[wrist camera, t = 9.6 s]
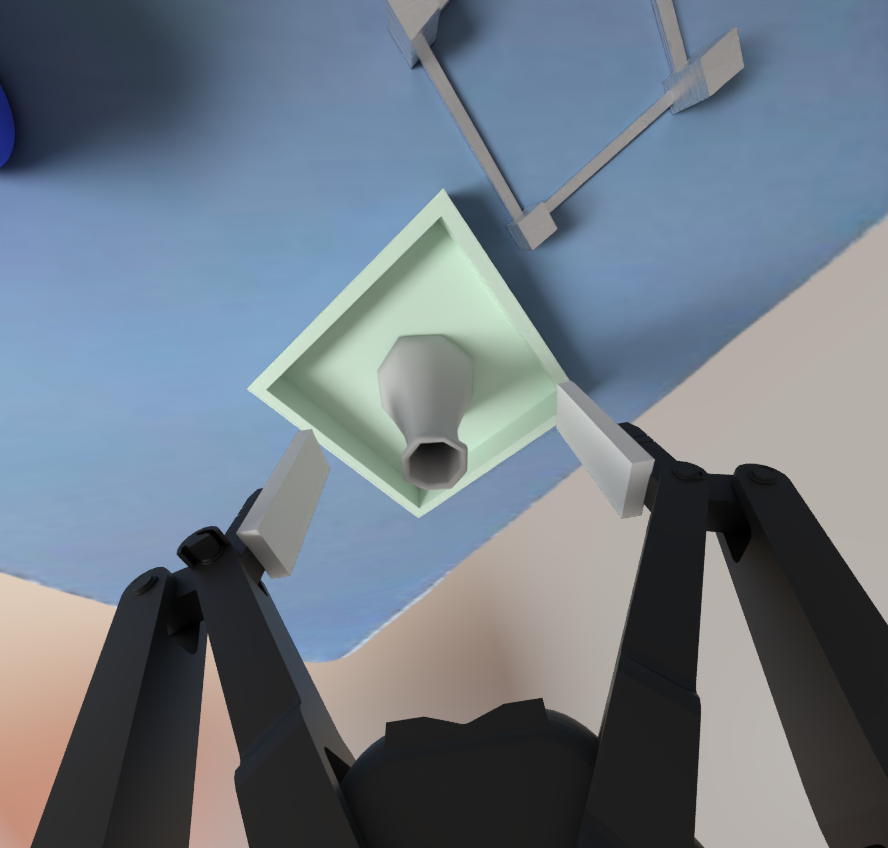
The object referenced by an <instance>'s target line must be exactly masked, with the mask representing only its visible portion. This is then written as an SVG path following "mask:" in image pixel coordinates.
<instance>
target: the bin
mask: <svg viewBox="0 0 888 848" xmlns="http://www.w3.org/2000/svg"><path fill="white" fill-rule="evenodd" d="M434 335H442V336H443V337H444V338H446V339H447V340H449V341H450V342H452V343H453V344H454V345H456V346H457V347H459V348H460V349H462V350H463V351H464V352H466V353H467V354H469V355H470V356H472V357H473V358H474V371H473V396H472V398H471V400H470V402H469V404H468V406H467V408H466V410H465V413H464V415H463V418H462V420H461V423H460V425H459V428H458V438H459V441H461V442H463V443H464V444H466V445H467V447H468V464H467V472H466V473H465V474H464V475H463V477H462V478H461V479H460V480H459V481H458V482H457V483H456V484H455V485H454V487H453V488H452V489H439V490H424V489H422V488H419V487H417V486H415V485H413V484H411V483H409V482H407V481H405V480H404V478H403V469H402V460H401V455H402V453H403V451H404V450H405V449H406V447H407V443H406V440H405V437H404V435H403V434H402V432H401V431H400V430H399V428H398V427H397V425H396V424H395V423H394V421H393V420H392V419H391V418H390V417H389V415H388V414H387V413H386V412H385V411H384V409H383V408H382V404H381V397H380V389H379V382H378V375H377V370H378V368H379V367H380V365H381V364H382V362H383V361H384V359H385V357H386V356H387V354H388V353H389V351H390V350H391V348H392V346H393V345H394V343H395V342H396V340H397V339H398V337H411V336H434ZM564 382H570V380H569V379H568V377H567V376H566V374H565V372H564V371H563V369H562V368H561V366H560V365H559V363H558V362H557V360H556V359H555V357H554V356H553V354H552V353H551V351H550V350H549V348H548V347H547V345H546V344H545V342H544V341H543V339H542V338H541V336H540V335H539V333H538V332H537V330H536V328H535V327H534V325H533V324H532V322H531V321H530V319H529V318H528V316H527V315H526V313H525V312H524V310H523V309H522V307H521V306H520V304H519V303H518V301H517V300H516V298H515V297H514V295H513V294H512V292H511V291H510V289H509V288H508V286H507V284H506V283H505V281H504V280H503V278H502V277H501V275H500V274H499V272H498V271H497V269H496V268H495V266H494V265H493V263H492V262H491V260H490V259H489V257H488V256H487V254H486V253H485V251H484V250H483V248H482V247H481V245H480V243H479V242H478V240H477V239H476V237H475V236H474V234H473V233H472V231H471V230H470V228H469V227H468V225H467V224H466V222H465V221H464V219H463V218H462V216H461V215H460V213H459V212H458V210H457V209H456V207H455V206H454V204H453V203H452V201H451V199H450V198H449V196H448V195H447V193H446V192H445V190H444V189H442V190H441V191H440V192H439V193H438V194H437V195H436V196H435V197H434V198H433V199H432V200H431V201H430V202H429V204H428V205H427V206H426V207H425V208H424V209H423V210H422V211H421V212H420V213H419V214H418V215H417V216H416V217H415V218H414V219H413V220H412V221H411V222H410V223H409V224H408V225H407V226H406V227H405V228H404V229H403V230H402V231H401V232H400V233H399V234H398V235H397V236H396V237H395V238H394V239H393V240H392V241H391V242H390V243H389V244H388V245H387V246H386V247H385V248H384V249H383V250H382V251H381V253H380V254H379V255H378V256H377V257H376V258H375V259H374V260H373V261H372V262H371V263H370V264H369V265H368V266H367V267H366V268H365V269H364V270H363V271H362V272H361V273H360V274H359V275H358V276H357V277H356V278H355V279H354V280H353V281H352V282H351V283H350V284H349V285H348V286H347V287H346V288H345V289H344V290H343V291H342V292H341V293H340V294H339V295H338V296H337V297H336V298H335V299H334V300H333V301H332V303H331V304H330V305H329V306H328V307H327V308H326V309H325V310H324V311H323V312H322V313H321V314H320V315H319V316H318V317H317V318H316V319H315V320H314V321H313V322H312V323H311V324H310V325H309V326H308V327H307V328H306V329H305V330H304V331H303V332H302V333H301V334H300V335H299V336H298V337H297V338H296V339H295V340H294V341H293V342H292V343H291V344H290V345H289V346H288V347H287V348H286V349H285V350H284V352H283V353H282V354H281V355H280V356H279V357H278V358H277V359H276V360H275V361H274V362H273V363H272V364H271V365H270V366H269V367H268V368H267V369H266V370H265V371H264V372H263V373H262V374H261V375H260V376H259V377H258V378H257V379H256V380H255V381H254V382H253V383H252V384H251V385H250V386H249V387H248V388H247V390H249V391H250V392H251V393H253V394H254V395H255V396H257V397H258V398H259V399H261V400H262V401H263V402H265V403H266V404H267V405H269V406H270V407H271V408H273V409H274V410H275V411H277V412H278V413H279V414H281V415H282V416H283V417H285V418H286V419H287V420H289V421H290V422H291V423H293V424H294V425H295V426H297V427H298V428H299V429H301V430H302V431H303V430H308V429H312V430H313V433H314V435H315V437H316V439H317V441H318V443H319V444H321V445H322V446H323V447H325V448H326V449H327V450H329V451H330V452H331V453H333V454H334V455H335V456H337V457H338V458H339V459H341V460H342V461H343V462H345V463H346V464H347V465H349V466H350V467H351V468H352V469H354V470H355V471H356V472H358V473H359V474H360V475H362V476H363V477H364V478H366V479H367V480H368V481H370V482H371V483H372V484H374V485H375V486H376V487H378V488H379V489H380V490H382V491H383V492H384V493H386V494H387V495H388V496H390V497H391V498H392V499H394V500H395V501H396V502H398V503H399V504H400V505H402V506H403V507H404V508H406V509H407V510H408V511H410V512H411V513H412V514H414V515H415V516H416V517H418V518H420V517H421V516H423V515H424V514H426V513H427V512H429V511H430V510H432V509H433V508H434V507H436V506H437V505H439V504H440V503H442V502H443V501H445V500H446V499H448V498H449V497H451V496H452V495H454V494H455V493H457V492H458V491H460V490H461V489H462V488H464V487H465V486H467V485H468V484H470V483H471V482H473V481H474V480H476V479H477V478H479V477H480V476H482V475H483V474H485V473H486V472H488V471H489V470H491V469H492V468H493V467H495V466H496V465H498V464H499V463H501V462H502V461H504V460H505V459H507V458H508V457H510V456H511V455H513V454H514V453H516V452H517V451H519V450H520V449H521V448H523V447H524V446H526V445H527V444H529V443H530V442H532V441H533V440H535V439H536V438H538V437H539V436H541V435H542V434H544V433H545V432H547V431H548V430H549V429H551V428H552V427H554V426H555V425H556V422H557V384H559V383H564Z"/></svg>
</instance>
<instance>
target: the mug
mask: <svg viewBox="0 0 888 848" xmlns="http://www.w3.org/2000/svg"><path fill="white" fill-rule="evenodd" d="M14 140H15V128H14V121H13V116H12V112H11V109H10V106H9V103H8V100H7V98H6V95H5V93H4V91H3V89H2V87H1V85H0V167H1V166H3V164H4V163H5V162H6V161H7V160H8V159H9V157H10V155H11V153H12V150H13V147H14Z"/></svg>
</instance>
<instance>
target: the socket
mask: <svg viewBox="0 0 888 848" xmlns="http://www.w3.org/2000/svg"><path fill="white" fill-rule="evenodd" d="M384 1H385V10H386V18H387V27H388V31H389V33H390V35H391V36H392V38H393V40H394V41H395V43H396V45H397V46H398V48H399V50H400V51H401V53H402V55H403V56H404V58H405V60H406V61H407V63H408V65H409V66H410V68H411V69H412V68H413V66H414V65H415V64H416V63H417V62H418V60H419V61H420V63H421V64H422V66H423V68H424V70H425V71H426V73H427V75H428V76H429V78H430V80H431V82H432V83H433V85H434V87H435V88H436V90H437V92H438V94H439V95H440V97H441V99H442V100H443V102H444V104H445V105H446V107H447V109H448V111H449V112H450V114H451V116H452V117H453V119H454V121H455V123H456V124H457V126H458V128H459V129H460V131H461V133H462V135H463V136H464V138H465V140H466V141H467V143H468V145H469V146H470V148H471V150H472V152H473V153H474V155H475V157H476V158H477V160H478V162H479V164H480V165H481V167H482V169H483V170H484V172H485V174H486V176H487V177H488V179H489V181H490V182H491V184H492V186H493V187H494V189H495V191H496V193H497V194H498V196H499V198H500V199H501V201H502V203H503V205H504V206H505V208H506V210H507V211H508V213H509V215H510V217H511V218H512V221H511V222H510V223H508V224H507V225H506V228H507V229H508V231H509V232H510V234H511V236H512V237H513V239H514V241H515V242H516V244H517V246H518V247H519V249H522V250H534V249H535V248H536V247H537V246H539V245H540V244H541V243H542V242H543V241H544V240H545V239H547V238H548V237H549V236H550V235H551V234H552V233H554V232H555V231H556V230H557V227H556V225H555V223H554V221H553V219H552V218H551V216H550V214H549V213H550V212H551V211H552V210H554V209H555V208H556V207H557V206H558V205H559V204H560V203H561V202H563V201H564V200H565V199H566V198H567V197H568V196H569V195H570V194H572V193H573V192H574V191H575V190H576V189H577V188H578V187H579V186H581V185H582V184H583V183H584V182H585V181H586V180H587V179H588V178H590V177H591V176H592V175H593V174H594V173H595V172H596V171H597V170H599V169H600V168H601V167H602V166H603V165H604V164H605V163H606V162H608V161H609V160H610V159H611V158H612V157H613V156H614V155H615V154H616V153H618V152H619V151H620V150H621V149H622V148H623V147H624V146H625V145H627V144H628V143H629V142H630V141H631V140H632V139H633V138H634V137H636V136H637V135H638V134H639V133H640V132H641V131H642V130H643V129H645V128H646V127H647V126H648V125H649V124H650V123H651V122H652V121H654V120H655V119H656V118H657V117H658V116H659V115H660V114H661V113H663V112H664V111H665V110H666V109H667V108H668V107H669V106H670V109H671V112H672V115H673V114H675V113H677V112H679V111H681V110H684V109H686V108H688V107H690V106H692V105H694V104H696V103H698V102H700V101H702V100H704V99H706V98H708V97H710V96H711V95H713V94H714V93H715V92H716V91H717V90H718V89H719V88H721V87H722V86H723V85H724V84H725V83H726V82H728V81H729V80H730V79H731V78H732V77H733V76H734V75H736V74H737V73H738V72H739V71H740V70H741V69H743V68H744V64H743V58H742V53H741V48H740V42H739V37H738V32H737V27H736V26H735V27H734V28H732V29H731V30H729V31H728V32H726V33H725V34H723V35H722V36H720V37H719V38H717V39H716V40H714V41H713V42H711V43H710V44H708V45H707V46H705V47H703V48H702V49H700V50H699V51H697V52H696V53H694V54H693V55H692V56H691V57H690V58H688V59H687V57H686V53H685V49H684V45H683V41H682V38H681V34H680V30H679V26H678V22H677V18H676V14H675V10H674V6H673V3H672V0H651V2H652V5H653V9H654V12H655V16H656V19H657V23H658V27H659V30H660V34H661V37H662V41H663V44H664V48H665V51H666V55H667V58H668V62H669V66H670V69H671V73H672V74H671V75H670V76H669V77H668V78H667V79H666V80H664V81H663V85H664V89H665V92H666V93H665V94H664V95H663V96H662V97H660V98H659V99H658V100H657V101H656V102H655V103H654V104H653V105H652V106H650V107H649V108H648V109H647V110H646V111H645V112H644V113H643V114H642V115H641V116H639V117H638V118H637V119H636V120H635V121H634V122H633V123H632V124H631V125H629V126H628V127H627V128H626V129H625V130H624V131H623V132H622V133H621V134H620V135H618V136H617V137H616V138H615V139H614V140H613V141H612V142H611V143H610V144H609V145H607V146H606V147H605V148H604V149H603V150H602V151H601V152H600V153H599V154H597V155H596V156H595V157H594V158H593V159H592V160H591V161H590V162H589V163H588V164H586V165H585V166H584V167H583V168H582V169H581V170H580V171H579V172H578V173H576V174H575V175H574V176H573V177H572V178H571V179H570V180H569V181H568V182H567V183H565V184H564V185H563V186H562V187H561V188H560V189H559V190H558V191H557V192H555V193H554V194H553V195H552V196H551V197H550V198H549V199H548V200H547V201H546V202H543V201H542V202H539V203H535V204H532V205H529V206H527V207H526V208H525V209H524V210H523V211H522V210H521V209H520V207H519V205H518V203H517V202H516V200H515V198H514V196H513V194H512V193H511V191H510V189H509V187H508V186H507V184H506V182H505V180H504V179H503V177H502V175H501V173H500V171H499V170H498V168H497V166H496V164H495V163H494V161H493V159H492V157H491V155H490V154H489V152H488V150H487V148H486V147H485V145H484V143H483V141H482V139H481V138H480V136H479V134H478V132H477V131H476V129H475V127H474V125H473V124H472V122H471V120H470V118H469V116H468V115H467V113H466V111H465V109H464V108H463V106H462V104H461V102H460V100H459V99H458V97H457V95H456V93H455V92H454V90H453V88H452V86H451V84H450V83H449V81H448V79H447V77H446V76H445V74H444V72H443V70H442V69H441V67H440V65H439V63H438V61H437V60H436V58H435V56H434V54H433V53H432V51H431V49H430V46H431V45H432V44H433V42H434V41H435V40H436V36H437V28H438V20H439V14H440V13H441V12H442V11H443V9H444V8H445V7H446V6H447V5H448V3H449V2H450V1H451V0H384Z"/></svg>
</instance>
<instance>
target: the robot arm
mask: <svg viewBox="0 0 888 848" xmlns="http://www.w3.org/2000/svg"><path fill="white" fill-rule="evenodd" d="M556 428H557V429H558V431H559V432H560V434H561V435H562V436H563V438H564V439H565V441H566V442H567V443H568V445H569V446H570V448H571V449H572V450H573V452H574V453H575V455H576V456H577V457H578V459H579V460H580V462H581V463H582V464H583V466H584V467H585V468H586V470H587V471H588V473H589V474H590V475H591V477H592V478H593V480H594V481H595V482H596V484H597V485H598V487H599V488H600V489H601V491H602V492H603V494H604V495H605V496H606V498H607V499H608V501H609V502H610V503H611V505H612V506H613V508H614V509H615V510H616V512H617V513H618V515H619V516H620V517H621V518H622V519H623V518H629V517H635V516H640V515H642V511H643V506H644V505H645V506H646V507H647V508H648V509H649V510H650V512H651V515H650V518H649V522H648V526H647V530H646V536H645V540H644V544H643V549H642V553H641V557H640V561H639V565H638V570H637V574H636V578H635V583H634V587H633V591H632V596H631V600H630V604H629V609H628V613H627V617H626V621H625V626H624V630H623V634H622V638H621V643H620V647H619V652H618V656H617V660H616V664H615V668H614V672H613V677H612V681H611V686H610V691H609V694H608V698H607V702H606V706H605V710H604V714H603V718H602V722H601V727H600V731H599V735H598V737H597V736H596V735H595V734H594V733H592V732H591V731H590V730H589V729H588V728H586V727H585V726H584V725H582V724H581V723H579V722H578V721H576V720H575V719H573V718H571V717H569V716H567V715H565V714H562V713H559V712H557V711H554V710H549V709H545V706H544V702H543V699H542V698H538V699H532V700H525V701H519V702H513V703H507V704H503V705H501V706H499V707H498V708H495V709H494V710H492V711H490V712H488V713H486V714H484V715H482V716H480V717H479V718H477V719H475V720H473V721H471V722H469V723H467V724H458V723H454V722H449V721H444V720H439V719H433V718H428V717H419V718H412V719H406V720H400V721H393V722H387V723H386V732H385V736H383V737H381V738H380V739H379V740H377V741H376V742H375V743H373V744H372V745H371V746H370V747H369V748H368V749H367V750H366V751H365V752H363V753H362V754H361V756H360V757H359V758H358V759H357V760H355V758H354V757H353V755H352V753H351V752H350V750H349V749H348V747H347V746H346V745H345V743H344V742H343V740H342V738H341V737H340V735H339V733H338V731H337V729H336V727H335V725H334V723H333V721H332V719H331V717H330V715H329V713H328V711H327V709H326V707H325V705H324V703H323V701H322V699H321V697H320V695H319V693H318V691H317V689H316V687H315V685H314V683H313V681H312V679H311V677H310V675H309V673H308V671H307V669H306V667H305V665H304V663H303V661H302V659H301V657H300V655H299V653H298V651H297V649H296V647H295V645H294V643H293V641H292V639H291V637H290V635H289V633H288V631H287V629H286V627H285V625H284V623H283V621H282V619H281V617H280V615H279V613H278V611H277V609H276V606H275V604H274V602H273V600H272V598H271V596H270V594H269V592H268V590H267V588H266V586H265V584H264V583H263V582H262V581H261V577H262V575H263V573H264V571H266V572H267V574H268V575H269V576H270V577H271V579H274V578H280V577H286V576H291V573H292V570H293V568H294V565H295V562H296V559H297V557H298V554H299V551H300V549H301V546H302V543H303V541H304V538H305V535H306V532H307V530H308V527H309V524H310V522H311V519H312V516H313V514H314V511H315V508H316V505H317V503H318V500H319V497H320V495H321V492H322V489H323V487H324V484H325V481H326V478H327V476H328V473H329V470H330V467H329V465H328V463H327V461H326V458H325V456H324V454H323V452H322V450H321V448H320V445H319V443H318V441H317V439H316V437H315V435H314V433H313V430H312V429H308V430H303V431H298V432H297V433H296V435H295V437H294V438H293V440H292V442H291V443H290V445H289V447H288V448H287V450H286V452H285V453H284V455H283V457H282V458H281V460H280V461H279V463H278V465H277V466H276V468H275V470H274V471H273V473H272V475H271V476H270V478H269V480H268V481H267V483H266V485H265V486H264V488H261V489H257V490H256V491H255V492H254V493H253V494H252V495H251V496H250V497H249V498H248V499H247V501H246V502H245V504H244V505H243V507H242V508H243V509H241V510H240V512H239V513H238V517H236V518H235V519H234V521H233V523H232V524H231V526H230V527H229V529H228V530H227V532H226V534H225V535H224V534H223V533H222V532H221V530H220V529H219V528H218V527H216V526H209V527H205V528H202V529H200V530H198V531H196V532H195V533H193V534H192V535H190V536H189V537H187V538H186V539H185V540H184V541H183V542H182V543H181V545H180V546H179V548H178V550H177V555H178V556H179V557H180V558H181V560H182V561H183V562H184V563H185V564H186V565H187V566H188V567H186V568H184V569H182V570H179V571H177V572H174V573H171V572H170V571H169V570H167V569H166V568H164V567H157V568H154V569H151V570H149V571H147V572H145V573H143V574H141V575H140V576H139V577H138V578H136V579H135V580H134V581H132V582H131V584H130V585H129V586H128V587H127V588H126V589H125V591H124V592H123V594H122V596H121V599H120V601H119V604H118V607H117V610H116V613H115V615H114V618H113V621H112V624H111V626H110V629H109V632H108V635H107V638H106V641H105V643H104V646H103V649H102V651H101V654H100V657H99V660H98V663H97V665H96V668H95V671H94V673H93V676H92V679H91V682H90V684H89V687H88V690H87V693H86V696H85V698H84V701H83V704H82V707H81V709H80V712H79V715H78V718H77V721H76V723H75V726H74V729H73V732H72V734H71V737H70V740H69V743H68V745H67V748H66V751H65V754H64V756H63V759H62V762H61V765H60V767H59V771H58V773H57V776H56V779H55V781H54V784H53V787H52V790H51V792H50V795H49V798H48V801H47V804H46V807H45V809H44V812H43V815H42V817H41V820H40V823H39V826H38V829H37V831H36V834H35V837H34V839H33V842H32V845H31V848H189V838H190V825H191V815H192V804H193V792H194V781H195V769H196V757H197V746H198V736H199V724H200V712H201V701H202V691H203V679H204V667H205V657H206V656H205V655H206V645H207V634H208V636H209V640H210V643H211V647H212V651H213V655H214V658H215V663H216V666H217V670H218V674H219V678H220V682H221V686H222V689H223V693H224V697H225V701H226V705H227V708H228V712H229V716H230V720H231V724H232V728H233V731H234V735H235V739H236V743H237V747H238V751H239V755H240V766H239V767H238V768H237V769H236V771H235V776H234V780H235V788H236V793H237V797H238V802H239V806H240V810H241V814H242V819H243V823H244V827H245V831H246V836H247V839H248V844H249V848H704V847H703V846H702V845H701V844H700V843H699V841H698V840H697V839H696V838H695V837H694V833H695V815H696V813H695V812H696V797H697V778H698V759H699V741H700V723H701V704H700V698H699V696H698V694H697V693H696V676H697V661H698V645H699V631H700V630H699V629H700V616H701V602H702V601H701V600H702V587H703V572H704V557H705V541H706V531H711V532H716V535H717V538H718V541H719V543H720V546H721V549H722V552H723V555H724V558H725V561H726V564H727V567H728V569H729V572H730V575H731V578H732V581H733V584H734V587H735V590H736V593H737V595H738V598H739V601H740V604H741V607H742V610H743V613H744V616H745V619H746V621H747V624H748V627H749V630H750V633H751V636H752V639H753V642H754V644H755V647H756V650H757V653H758V656H759V659H760V662H761V664H762V668H763V671H764V674H765V676H766V679H767V682H768V685H769V688H770V691H771V694H772V697H773V700H774V702H775V705H776V708H777V711H778V714H779V717H780V720H781V723H782V726H783V728H784V731H785V734H786V737H787V740H788V743H789V746H790V749H791V751H792V754H793V757H794V760H795V763H796V766H797V769H798V772H799V775H800V777H801V780H802V783H803V786H804V789H805V792H806V794H807V797H808V799H809V802H810V804H811V807H812V810H813V812H814V815H815V817H816V820H817V822H818V825H819V827H820V829H821V831H822V834H823V835H824V838H825V840H826V842H827V844H828V846H829V848H888V625H887V623H886V622H885V620H884V619H883V617H882V616H881V614H880V613H879V611H878V610H877V608H876V607H875V606H874V604H873V602H872V601H871V599H870V598H869V597H868V595H867V594H866V592H865V591H864V589H863V588H862V586H861V585H860V583H859V582H858V580H857V579H856V577H855V576H854V574H853V573H852V571H851V570H850V568H849V567H848V565H847V564H846V562H845V561H844V559H843V558H842V556H841V555H840V553H839V552H838V550H837V549H836V548H835V546H834V545H833V543H832V542H831V540H830V539H829V537H828V536H827V534H826V533H825V531H824V530H823V528H822V527H821V525H820V524H819V522H818V521H817V519H816V518H815V516H814V515H813V513H812V512H811V510H810V509H809V507H808V506H807V504H806V503H805V501H804V500H803V498H802V497H801V495H800V494H799V493H798V491H797V490H796V488H795V487H794V485H793V484H792V482H791V481H790V479H789V478H788V477H787V476H786V475H785V474H783V473H781V472H780V471H777V470H776V469H774V468H771V467H768V466H765V465H759V464H743V465H739V466H738V467H737V468H736V469H735V472H734V474H733V475H724V474H708V473H707V472H706V471H705V470H704V469H702V468H701V467H699V466H697V465H694V464H692V463H688V462H682V461H677V460H675V459H674V458H673V457H672V456H671V455H670V454H669V453H667V452H666V451H665V450H664V449H663V448H662V447H661V446H659V445H658V444H657V443H656V442H654V441H653V439H651V438H650V437H649V436H647V434H646V433H645V432H643V431H642V430H641V429H640V428H639V427H637V426H634V425H632V424H630V423H628V422H625V423H619V424H617V423H616V422H615V421H614V420H613V419H612V418H610V417H609V416H608V415H607V414H606V413H605V412H604V411H603V410H602V409H601V408H600V407H599V406H598V405H597V404H596V403H595V402H594V401H593V400H592V399H590V398H589V397H588V396H587V395H586V394H585V393H584V392H583V391H582V390H581V389H580V388H579V387H578V386H577V385H576V384H575V383H574V382H573V381H570V382H564V383H559V384H557V422H556Z"/></svg>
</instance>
